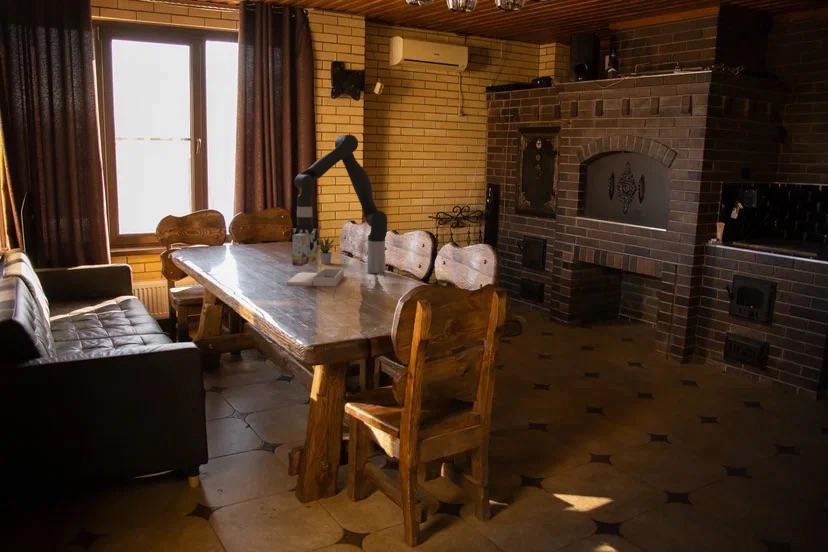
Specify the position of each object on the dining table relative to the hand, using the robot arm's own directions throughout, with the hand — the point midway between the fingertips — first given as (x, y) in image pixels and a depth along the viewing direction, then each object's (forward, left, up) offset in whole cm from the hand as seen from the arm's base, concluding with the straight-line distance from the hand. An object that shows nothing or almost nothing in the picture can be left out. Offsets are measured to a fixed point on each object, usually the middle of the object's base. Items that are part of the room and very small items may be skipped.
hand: (304, 249), depth 344 cm
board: (0, 0, -15) cm, 15 cm away
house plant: (-2, -51, -16) cm, 53 cm away
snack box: (0, 0, -7) cm, 7 cm away
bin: (-12, 0, -15) cm, 20 cm away
